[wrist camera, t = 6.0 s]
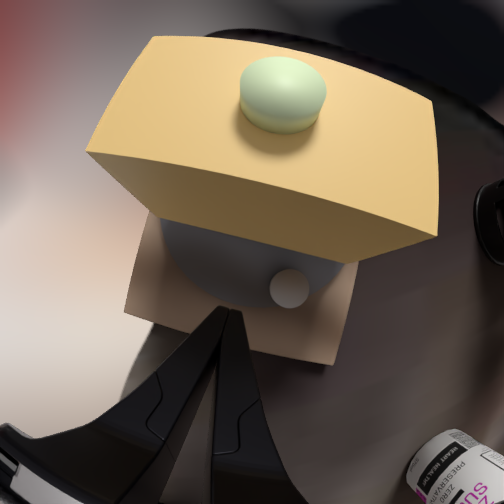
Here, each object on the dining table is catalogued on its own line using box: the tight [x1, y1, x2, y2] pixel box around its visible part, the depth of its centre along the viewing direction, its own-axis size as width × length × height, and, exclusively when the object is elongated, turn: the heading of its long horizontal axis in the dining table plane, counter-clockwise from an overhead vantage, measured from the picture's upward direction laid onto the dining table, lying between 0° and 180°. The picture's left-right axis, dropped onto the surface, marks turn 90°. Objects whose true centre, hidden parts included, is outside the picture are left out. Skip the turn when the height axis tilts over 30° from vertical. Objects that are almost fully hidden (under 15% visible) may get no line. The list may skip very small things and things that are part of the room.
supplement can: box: [406, 429, 504, 504], centre depth 12 cm, size 8×8×15 cm
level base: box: [124, 211, 359, 365], centre depth 20 cm, size 20×16×4 cm
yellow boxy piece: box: [85, 36, 439, 264], centre depth 12 cm, size 6×13×10 cm, turn 76°
